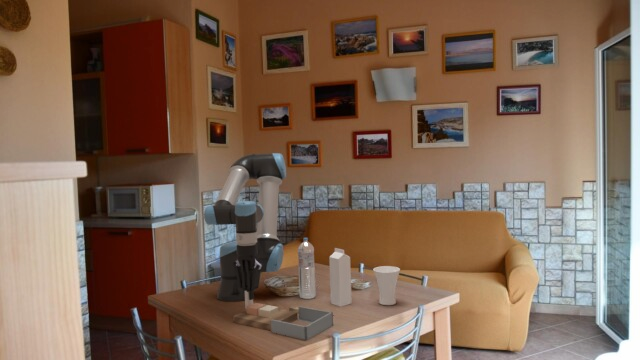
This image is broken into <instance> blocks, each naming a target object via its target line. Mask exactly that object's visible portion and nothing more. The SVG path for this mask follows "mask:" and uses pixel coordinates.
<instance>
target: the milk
mask: <svg viewBox="0 0 640 360" xmlns="http://www.w3.org/2000/svg"><path fill="white" fill-rule="evenodd" d="M328 260H329V287H330V288H329V289H330V303H331V304H332V305H335V306H337V307H340V308H341V307H345V306H348V305H352V301H353V300H352V276H351V274H352V272H351V271H352V270H351V256H349V255H348V254H346V253H345V249H342V248H337V247H334V252H333V253H332V254H331V255H330V256H329V259H328Z"/></svg>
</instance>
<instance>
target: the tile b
mask: <svg viewBox="0 0 640 360" xmlns="http://www.w3.org/2000/svg"><path fill="white" fill-rule="evenodd" d="M265 305H266V306H264V307H262V308H260V309H258V312H259V316H261V317H266V318H271V317H273V316H275V315H277V314H279V312H278V309H279V306H275V305H274V306H273V305H269V304H265Z"/></svg>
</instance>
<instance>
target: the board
mask: <svg viewBox="0 0 640 360" xmlns="http://www.w3.org/2000/svg"><path fill="white" fill-rule="evenodd" d="M278 312H279V314H277V315H275V316H273V317H271V318H266V317H261V316H259V315H258V316H256V315H251V314H247V310H244V311H242V312H240V313H237V314H234V315H233V316H232V318H233V320H232V321H233V323H235V324H238V325H244V326H247V327H252V328H256V329H261V330H265V331H266V330H267V331H269V332H272V329H271V320H272V319H273V320H278V321H282V322H287V323H293V322H295V321H298V319H299V316H298V313H297V312H293V311H289V309H288V310H287V309H282V308H278Z"/></svg>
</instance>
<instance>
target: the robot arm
mask: <svg viewBox="0 0 640 360" xmlns="http://www.w3.org/2000/svg"><path fill="white" fill-rule="evenodd" d="M227 176H228V177H227V178H226V181H225V182H224V185H223V187H222V189H221V191H220V193H219V195H218V198H217V199H216V202H215V204H214V205H213V204H210V205H207V206H206V207H205V209H204V212H203V217H204V221H205V223H206V224H207V225H213V226H222V225H223V226H224V225H225V226H226V225H235V236H236V238H235V241H231V242H228V243H225V244H222V245H221V246H220V247H219V256H218V257H219V267H220V270H219V271H220V282H219V287H218V290H217V292H216V293H217V295H216V296H217V299H218V300H219V301H223V302H239V301H240V302H241V301H244V306H245V307H244V310H247V309H246V307H247V306H249V305H252V304H254V300H255V290H258V289H259V286H260V278H261V273H265V272H266V273H272V272H278V271H279V270H280V269H281V267H282V265H283V261H284V245H283V244H282V243H281V241H280V239H279V238H278V236H277V233H278V232H277V231H278V212H279V211H278V208H279V187H280V186H281V185H282V184H283V180H284V179H286V178H287V167H286V162H285V158H284V156H283V154H282V153H279V152H278V153H277V152H275V153H274V152H272V153H269V152H268V153H249V154H246V155H243V156H241V157H240V158H238V159H237V160H236V161H234V163H232V164H231V166H230V168H229V169H228V172H227ZM249 180H256V183H257V184H258V185H259V192H258V203H256V202H255V201H253V200H246V201H245V200H243V201H238V200H239V197H240V194H241V192H242V190H243V188H244V185H245V184H246V183H247V182H248V181H249Z"/></svg>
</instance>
